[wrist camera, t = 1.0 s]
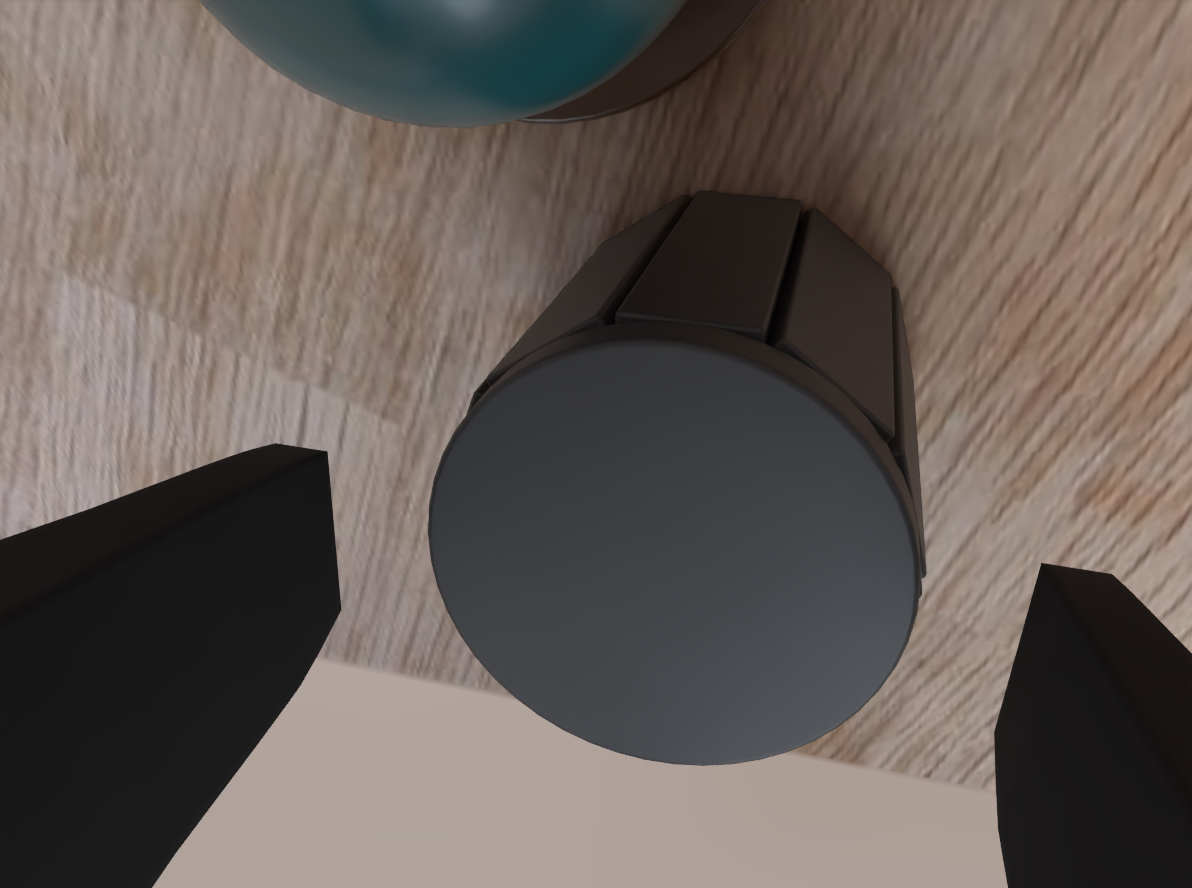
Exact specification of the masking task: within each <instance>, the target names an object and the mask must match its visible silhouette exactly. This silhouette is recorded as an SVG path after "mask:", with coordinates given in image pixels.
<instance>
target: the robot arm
mask: <svg viewBox="0 0 1192 888" xmlns="http://www.w3.org/2000/svg"><path fill="white" fill-rule="evenodd" d="M340 611H341V600H340V589H339V578H338V566H337V555H336V544H335V532H334V521H333V509H332V498H331V487H330V475H329V464H328V453H327V451H321V450H314V449H308V448H302V447H295V446H289V445H282V444H276V443H275V444H271V445H267V446H263V447H259V448H255V449H252V450H249V451H245V452H242V453H239V454H236V455H233V456H230V457H227V458H224V459H222V460H219V461H216V462H213V463H210V464H208V465H205V466H202V467H200V468H197V469H194V470H191V471H189V472H186V473H184V474H181V475H178V476H176V477H173V478H170V479H168V480H165V481H162V482H160V483H157V484H154V485H152V486H149V487H147V488H144V489H141V490H139V491H136V492H133V493H131V494H128V495H125V496H123V497H120V498H118V499H115V500H112V501H110V502H107V503H104V504H102V505H99V506H96V507H94V508H91V509H88V510H85V511H83V512H80V513H77V514H74V515H71V516H68V517H65V518H62V519H59V520H57V521H54V522H51V523H48V524H45V525H42V526H39V527H36V528H33V529H30V530H28V531H25V532H22V533H19V534H16V535H13V536H10V537H7V538H4V539H2V540H0V888H152V887H153V885H154V884H155V882H156V881H157V879H158V878H159V877H160V875H161V874H162V872H163V871H164V869H165V868H166V866H167V865H168V864H169V862H170V861H171V859H172V858H173V856H174V855H175V853H176V852H177V851H178V849H179V848H180V847H181V845H182V844H183V843H184V841H185V840H186V839H187V837H188V836H189V835H190V833H191V832H192V831H193V829H194V828H195V827H196V825H197V824H198V823H199V821H200V820H201V819H202V817H203V816H204V815H205V813H206V812H207V811H208V809H209V808H210V807H211V806H212V804H213V803H214V801H215V800H216V799H217V798H218V796H219V795H220V794H221V792H222V791H223V790H224V788H225V787H226V786H227V784H228V783H229V782H230V780H231V779H232V777H233V776H234V775H235V773H236V772H237V771H238V770H239V768H240V767H241V766H242V764H243V763H244V762H245V760H246V759H247V758H248V756H249V755H250V753H251V752H252V751H253V750H254V748H255V747H256V745H257V744H258V743H259V741H260V740H261V739H262V738H263V736H264V735H265V733H266V732H267V731H268V729H269V728H270V727H271V725H272V724H273V723H274V721H275V720H276V719H277V717H278V716H279V714H280V713H281V712H282V710H283V709H284V708H285V706H286V705H287V704H288V702H289V701H290V699H291V698H292V697H293V695H294V693H295V692H296V691H297V690H298V688H299V686H300V685H301V683H302V682H303V680H304V678H305V676H306V675H307V673H308V671H309V669H310V668H311V666H312V664H313V662H314V661H315V659H316V657H317V655H318V654H319V652H320V650H321V648H322V646H323V644H324V642H325V640H326V638H327V636H328V634H329V633H330V631H331V629H332V627H333V625H334V623H335V621H336V619H337V617H338V615H339V613H340ZM994 737H995V771H996V796H997V815H998V831H999V836H1000V842H1001V849H1002V855H1003V861H1004V866H1005V872H1006V878H1007V884H1008V888H1192V653H1191V652H1190V651H1189V650H1188V649H1187V648H1186V647H1185V646H1184V645H1183V644H1182V643H1181V642H1180V641H1179V640H1178V639H1177V638H1176V637H1175V636H1174V635H1173V634H1172V633H1171V632H1170V631H1169V630H1168V629H1167V628H1166V627H1165V626H1164V625H1163V624H1162V623H1161V622H1160V621H1159V620H1158V619H1157V618H1156V617H1155V616H1154V615H1153V614H1152V612H1151V611H1150V610H1149V609H1148V608H1147V607H1146V606H1145V605H1144V604H1143V603H1142V602H1141V601H1140V600H1139V599H1138V598H1137V597H1136V596H1135V595H1134V594H1133V593H1132V592H1131V591H1130V590H1129V589H1128V588H1126V587H1125V586H1124V585H1123V584H1122V583H1121V582H1120V581H1119V580H1118V579H1117V578H1116V577H1115V576H1113V575H1112V574H1108V573H1102V572H1095V571H1089V570H1083V569H1076V568H1070V567H1063V566H1057V565H1051V564H1044V563H1041V567H1040V570H1039V574H1038V577H1037V581H1036V585H1035V588H1034V592H1033V595H1032V599H1031V602H1030V606H1029V610H1028V613H1027V617H1026V620H1025V624H1024V628H1023V631H1022V635H1021V638H1020V642H1019V646H1018V649H1017V653H1016V656H1015V660H1014V663H1013V667H1012V671H1011V674H1010V678H1009V681H1008V685H1007V689H1006V692H1005V696H1004V699H1003V703H1002V707H1001V710H1000V714H999V717H998V721H997V724H996V728H995V732H994Z"/></svg>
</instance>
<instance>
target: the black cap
mask: <svg viewBox="0 0 1192 888" xmlns="http://www.w3.org/2000/svg"><path fill="white" fill-rule="evenodd" d="M801 209H802V202H801V201H798V200H788V199H778V198H767V197H757V196H747V195H736V194H726V193H716V192H705V191H699V192H698V193H697V194H696V196H695V197H694V199H693V200H692V202H690V201H689V199H688V197H687V196H686V195H682V196H680V197H678V198H677V199H675V200H673V201H672V202H670V203H668V204H667V205H665V206H663V207H662V208H660V209H658V210H657V211H655V212H653V213H652V214H650V215H648V216H647V217H645V218H643V219H642V220H640V221H638V222H637V223H635V224H634V225H632V226H630V227H629V228H627V229H625V230H624V231H622V232H620V233H619V234H617V235H615V236H614V237H612V238H610V239H609V240H607V241H605V242H604V243H603V244H602V245H601V246H600V247H599V248H598V249H597V251H596V252H595V253H594V254H593V255H592V256H591V258H590V259H589V260H588V261H587V262H586V263H585V264H584V266H583V267H582V268H581V269H580V270H579V271H578V273H577V274H576V275H575V276H574V277H573V278H572V279H571V281H570V282H569V283H568V284H567V285H566V286H565V288H564V289H563V290H562V291H561V292H560V293H559V294H558V296H557V297H556V298H555V299H554V300H553V301H552V303H551V304H550V305H549V306H548V307H547V308H546V309H545V311H544V312H543V313H542V314H541V315H540V316H539V318H538V319H537V320H536V321H535V322H534V323H533V324H532V326H531V327H530V328H529V329H528V330H527V331H526V333H525V334H524V335H523V336H522V337H521V338H520V339H519V341H518V342H517V343H516V344H515V345H514V346H513V348H512V349H511V350H510V351H509V352H508V353H507V354H506V356H505V357H504V358H503V359H502V360H501V361H500V363H499V364H498V365H497V366H496V367H495V368H494V369H493V371H492V372H491V373H490V374H489V375H488V377H487V378H486V379H485V381H484V382H483V383H482V384H481V385H480V386H479V388H478V389H477V390H476V391H475V392H474V394H473V397H472V400H471V403H470V406H469V409H468V412H467V415H466V417H465V418H464V419H463V421H462V422H461V423H460V425H459V426H458V427H457V429H456V430H455V432H454V434H453V436H452V438H451V439H450V441H449V443H448V445H447V447H446V449H445V451H444V452H443V455H442V457H441V460H440V463H439V466H438V469H437V472H436V475H435V477H434V481H433V487H432V492H431V497H430V503H429V522H428V536H429V546H430V555H431V562H432V566H433V570H434V574H435V578H436V582H437V586H438V589H439V591H440V594H441V596H442V599H443V601H444V604H445V606H446V609H447V611H448V613H449V615H450V617H451V619H452V621H453V622H454V624H455V626H456V628H457V630H458V632H459V634H460V635H461V637H462V638H463V640H464V641H465V642H466V644H467V645H468V647H469V648H470V650H471V651H472V652H473V654H474V655H475V657H476V658H477V659H478V660H479V661H480V663H481V664H482V665H483V666H484V667H485V668H486V669H487V671H488V672H489V673H490V674H491V675H492V676H493V677H494V678H495V679H496V680H497V681H498V682H499V683H500V684H501V685H502V686H503V687H504V688H505V689H506V690H508V691H509V692H510V693H511V694H512V695H513V696H514V697H515V698H516V699H518V700H519V701H520V702H522V703H523V704H525V705H526V706H527V707H529V708H530V709H531V710H533V711H534V712H535V713H536V714H538V715H539V716H541V717H543V718H544V719H546V720H548V721H549V722H551V723H553V724H554V725H556V726H558V727H559V728H561V729H563V730H565V731H567V732H569V733H571V734H573V735H575V736H577V737H579V738H581V739H583V740H585V741H588V742H590V743H593V744H595V745H598V746H601V747H603V748H606V749H609V750H612V751H615V752H617V753H621V754H625V755H629V756H633V757H637V758H641V759H645V760H651V761H658V762H664V763H670V764H683V765H701V766H705V765H724V764H735V763H741V762H748V761H754V760H760V759H764V758H767V757H771V756H775V755H778V754H782V753H785V752H788V751H791V750H793V749H796V748H798V747H800V746H803V745H805V744H808V743H810V742H813V741H815V740H816V739H818V738H820V737H821V736H823V735H825V734H827V733H828V732H830V731H832V730H834V729H835V728H837V727H839V726H840V725H841V724H842V723H844V722H845V721H846V720H848V719H849V718H850V717H851V716H853V715H854V714H855V713H857V712H858V711H859V710H860V709H861V708H862V707H863V706H864V705H865V704H866V703H867V702H868V701H869V700H870V699H871V698H872V697H873V696H874V695H875V694H876V693H877V692H878V691H879V689H880V688H881V687H882V685H883V684H884V683H885V681H886V680H887V678H888V677H889V676H890V674H891V673H892V671H893V670H894V668H895V667H896V666H897V664H898V662H899V660H900V657H901V655H902V653H903V651H904V649H905V647H906V645H907V643H908V641H909V638H910V635H911V632H912V628H913V625H914V622H915V619H916V615H917V610H918V602H919V598H920V597H921V595H922V582H921V578H924V577H925V576H926V573H927V572H926V558H925V543H924V528H923V514H922V499H921V485H920V470H919V456H918V441H917V426H916V412H915V397H914V383H913V375H912V369H911V362H910V356H909V350H908V344H907V338H906V332H905V326H904V320H903V313H902V307H901V301H900V295H899V290H898V288H896V287H893V288H891V276H890V273H888V272H887V271H886V270H885V269H884V268H883V267H882V266H881V265H879V264H878V263H877V262H876V261H875V260H874V259H873V258H872V257H871V256H869V255H868V254H867V253H866V252H865V251H864V250H863V249H862V248H861V247H859V246H858V245H857V244H856V243H855V242H854V241H853V240H852V239H851V238H849V237H848V236H847V235H846V234H845V233H844V232H843V231H842V230H841V229H839V228H838V227H837V226H836V225H835V224H834V223H833V222H832V221H831V220H829V219H828V218H827V217H826V216H825V215H824V214H823V213H822V212H820V211H819V210H818V209H817V208H812V209H811V210H810V211H809V212H808V213H807V214H806V215H805V216H804V218H803V219H802V220H801V221H800V217H801Z"/></svg>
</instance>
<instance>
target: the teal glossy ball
mask: <svg viewBox="0 0 1192 888" xmlns="http://www.w3.org/2000/svg"><path fill="white" fill-rule="evenodd" d="M200 1H201V3H202V4H203V5H204V6H205V8H206V9H207V10H208V11H209V12H210V13H211V14H212V15H213V16H214V17H215V18H216V19H217V20H218V21H219V22H220V23H221V24H222V25H223V26H224V27H225V28H226V29H227V30H228V31H229V32H230V33H231V34H232V35H233V36H235V37H236V38H237V39H238V40H239V41H240V42H241V43H242V44H243V45H244V46H245V47H246V48H248V49H249V50H250V51H251V52H253V53H254V54H255V55H256V56H258V57H259V58H260V59H261V60H263V61H264V62H265V63H266V64H268V65H269V66H270V67H271V68H273V69H274V70H276V71H277V72H279V73H281V74H282V75H284V76H285V77H287V78H289V79H290V80H292V81H294V82H295V83H297V84H298V85H300V86H302V87H303V88H305V89H307V90H309V91H311V92H314V93H316V94H318V95H320V96H322V97H324V98H327V99H329V100H331V101H333V102H335V103H338V104H340V105H342V106H344V107H346V108H349V109H351V110H354V111H357V112H360V113H363V114H367V115H370V116H373V117H376V118H380V119H383V120H387V121H393V122H399V123H405V124H412V125H418V126H427V127H452V128H472V127H480V126H488V125H496V124H503V123H507V122H511V121H519V122H525V123H542V124H565V123H573V122H581V121H589V120H596V119H600V118H603V117H607V116H611V115H614V114H618V113H622V112H625V111H628V110H631V109H633V108H635V107H638V106H640V105H642V104H645V103H647V102H649V101H652V100H654V99H656V98H659V97H660V96H662V95H664V94H665V93H667V92H669V91H670V90H672V89H674V88H675V87H677V86H679V85H680V84H682V83H684V82H685V81H687V80H688V79H690V78H691V77H692V76H693V75H695V74H696V73H697V72H699V71H700V70H701V69H702V68H704V67H705V66H706V65H707V64H709V63H710V62H711V61H712V60H714V59H715V58H716V57H717V56H719V55H720V54H721V53H722V52H723V51H725V50H726V49H727V48H728V47H729V46H730V45H731V44H732V43H733V41H734V40H735V39H736V38H737V37H738V36H739V35H740V34H741V33H742V32H743V31H744V30H745V29H746V28H747V27H748V26H749V25H750V24H751V23H752V21H753V20H754V19H755V17H756V16H757V15H758V13H759V12H760V11H761V9H762V8H763V7H764V5H765V4H766V3H767V1H768V0H200Z"/></svg>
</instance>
